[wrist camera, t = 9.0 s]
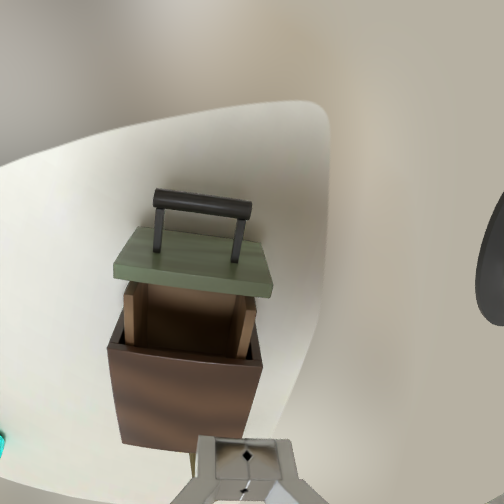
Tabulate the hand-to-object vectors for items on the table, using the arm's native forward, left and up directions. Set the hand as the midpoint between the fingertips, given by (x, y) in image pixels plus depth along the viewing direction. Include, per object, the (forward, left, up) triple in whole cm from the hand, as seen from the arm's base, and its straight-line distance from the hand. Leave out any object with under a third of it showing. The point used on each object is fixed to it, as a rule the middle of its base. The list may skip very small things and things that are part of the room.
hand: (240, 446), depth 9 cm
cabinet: (+2, +16, -23) cm, 28 cm away
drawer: (+2, +5, -22) cm, 23 cm away
